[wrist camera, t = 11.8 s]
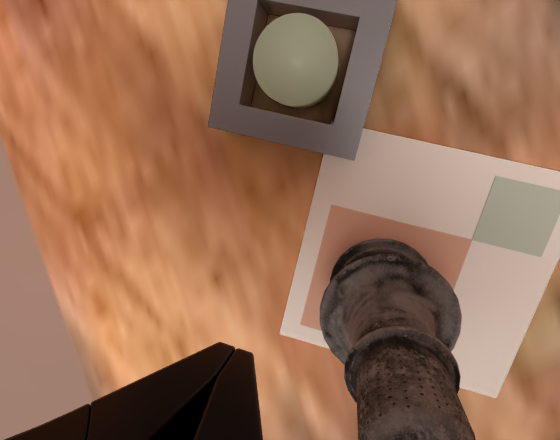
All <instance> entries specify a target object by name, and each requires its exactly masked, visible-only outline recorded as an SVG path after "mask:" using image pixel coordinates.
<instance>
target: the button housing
mask: <svg viewBox="0 0 560 440" xmlns="http://www.w3.org/2000/svg"><path fill="white" fill-rule="evenodd" d="M397 1H398V0H228V3H227V9H226V16H225V22H224V28H223V35H222V41H221V47H220V53H219V60H218V66H217V72H216V79H215V85H214V91H213V97H212V104H211V110H210V116H209V122H208V127H211V128H215V129H219V130H224V131H228V132H232V133H237V134H241V135H245V136H249V137H254V138H258V139H262V140H267V141H271V142H275V143H280V144H284V145H288V146H293V147H297V148H301V149H305V150H310V151H314V152H318V153H323V154H327V155H331V156H336V157H340V158H344V159H349V160H353V161H355V157H356V153H357V150H358V146H359V142H360V139H361V135H362V131H363V127H364V124H365V120H366V116H367V113H368V109H369V105H370V101H371V98H372V94H373V90H374V86H375V83H376V79H377V75H378V72H379V68H380V64H381V60H382V57H383V53H384V49H385V45H386V42H387V38H388V34H389V31H390V27H391V23H392V19H393V16H394V12H395V8H396V4H397ZM291 13H304V14H308V15H311V16H314V17H316V18H317V19H319V20H320V21H322V22H323V23H324V24H325V25H330V26H336V27H341V28H346V29H352V30H357V31H356V35H355V39H354V43H353V47H352V52H351V56H350V60H349V64H348V68H347V72H346V76H345V80H344V84H343V88H342V92H341V96H340V100H339V104H338V108H337V112H336V116H335V120H334V124H333V125H330V124H326V123H321V122H317V121H312V120H308V119H303V118H299V117H294V116H290V115H285V114H281V113H276V112H272V111H267V110H262V109H258V108H253V107H250V106H251V101H252V96H253V90H254V85H255V80H256V77H255V74H254V70H253V53H254V48H255V45H256V42H257V40H258V38H259V36H260V34H261V33H262V31H263V30H264V29H265V26H266V21H267V15H268V14H272V15H277V16H283V15H286V14H291Z"/></svg>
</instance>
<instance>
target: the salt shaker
mask: <svg viewBox="0 0 560 440" xmlns="http://www.w3.org/2000/svg"><path fill="white" fill-rule="evenodd" d="M461 320H462V314H461V310H460V305H459V300H458V298H457V296H456V294H455V292H454V291H453V289H452V287H451V285H450V283H449V282H448V281H447V280H446V279H445V278H444V277H443V276H442V275H441V274H440V273H439V272H438V271H437V270H436V269H434V268H433V267H431V266H429V265H428V263H427V262H426V260H425V259H424V258H423V257H422V256H421V255H420V254H419V253H418V252H417V251H416V250H415V249H414V248H412V247H410V246H408V245H407V244H405V243H403V242H399V241H396V240H392V239H379V238H375V239H371V240H366V241H362V242H360V243H358V244H356V245H354V246H352V247H350V248H349V249H348V250H347V251H346V252H344V253H343V254H342V255H341V256H340V257H339V259H338V261H337V262H336V264H335V265H334V267H333V270H332V274H331V277H330V283H329V285H328V286H327V288H326V289H325V291H324V294H323V297H322V301H321V304H320V327H321V330H322V334H323V337H324V340H325V341H326V343H327V345H328V346H329V348H330V349H331V351H332V353H333V354H334V355H335V356H336V357H337V358H338V359H339V360H340V361H341V362H342V363H343V364H344V365H345V381H346V385H347V388H348V391H349V392H350V394H351V396H352V397H353V399H354V400H355V402H356V403H357V416H358V440H476V439H475V435H474V433H473V430H472V428H471V426H470V423H469V421H468V419H467V416H466V414H465V412H464V409H463V407H462V404H461V402H460V400H459V397H458V395H457V393H458V391H459V387H460V377H461V376H460V372H459V367H458V363H457V361H456V359H455V358H454V356H453V354H452V353H451V351H452V350H453V349H454V347H455V344H456V342H457V340H458V337H459V335H460V330H461Z"/></svg>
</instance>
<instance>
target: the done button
mask: <svg viewBox="0 0 560 440" xmlns="http://www.w3.org/2000/svg"><path fill="white" fill-rule="evenodd" d="M253 70H254V74H255V77H256V80H257V82H258V84H259V86H260V87H261V89H262V90H263V91H264V92H265V93H266V94H267V95H268V96H269V97H270V98H272V99H273V100H275V101H277V102H279V103H281V104H283V105H285V106H287V107H291V108H296V109H303V108H308V107H312V106H314V105H316V104H318V103H320V102H321V101H322V100H324V99H325V98H326V97H327V96H328V95H329V93H330V92H331V91H332V89H333V88H334V86H335V83H336V81H337V78H338V73H339V59H338V50H337V45H336V42H335V39H334V37H333V35H332V33H331V31H330V30H329V28H328V27H327V26H326V25H325V24H324V23H323V22H322V21H320V20H319V19H317V18H316V17H314V16H311V15H308V14H304V13H291V14H286V15H283V16H281V17H279V18H277V19H275V20H274V21H272V22H271V23H270V24H269V25H267V27H266V28H265V29H264V30H263V31H262V33H261V34H260V36H259V38H258V40H257V42H256V45H255V48H254V53H253Z"/></svg>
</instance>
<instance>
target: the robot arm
mask: <svg viewBox="0 0 560 440" xmlns="http://www.w3.org/2000/svg"><path fill="white" fill-rule="evenodd" d="M5 440H263V436H262V427H261V418H260V409H259V400H258V391H257V383H256V374H255V365H254V356H253V354H252V353H251V352H248V351H245V350H242V349H239V348H238V349H236V350H235V347H233V346H231V345H228V344H225V343H222V342H218V343H216V344H214V345H212V346H209V347H207V348H205V349H203V350H201V351H199V352H197V353H195V354H192V355H190V356H188V357H186V358H184V359H182V360H180V361H178V362H175V363H173V364H171V365H169V366H167V367H165V368H163V369H161V370H158V371H156V372H154V373H152V374H150V375H148V376H146V377H144V378H142V379H139V380H137V381H135V382H133V383H131V384H129V385H127V386H125V387H122V388H120V389H118V390H116V391H114V392H112V393H110V394H108V395H105V396H103V397H101V398H99V399H97V400H95V401H93V402H91V405H89V404H86V405H84V406H82V407H80V408H78V409H75V410H73V411H71V412H69V413H67V414H64V415H62V416H60V417H58V418H55V419H53V420H51V421H49V422H46V423H44V424H42V425H40V426H37V427H35V428H32V429H30V430H27V431H25V432H22V433H20V434H17V435H15V436H12V437H10V438H7V439H5Z"/></svg>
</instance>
